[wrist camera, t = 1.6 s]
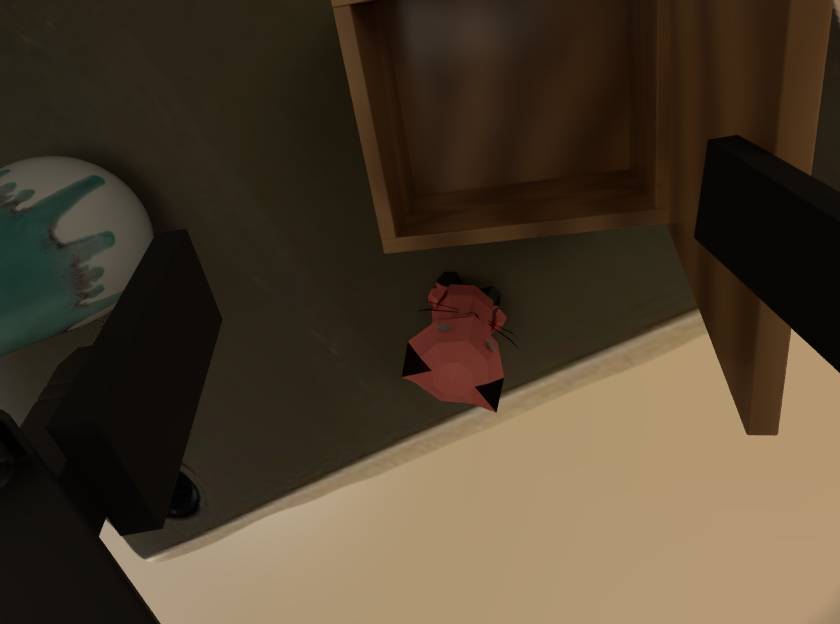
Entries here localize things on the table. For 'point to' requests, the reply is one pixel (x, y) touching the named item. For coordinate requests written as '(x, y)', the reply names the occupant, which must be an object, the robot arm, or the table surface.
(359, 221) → the table surface
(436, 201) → the chest
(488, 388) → the cat figurine
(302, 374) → the table surface
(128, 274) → the vase
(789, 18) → the chest lid
